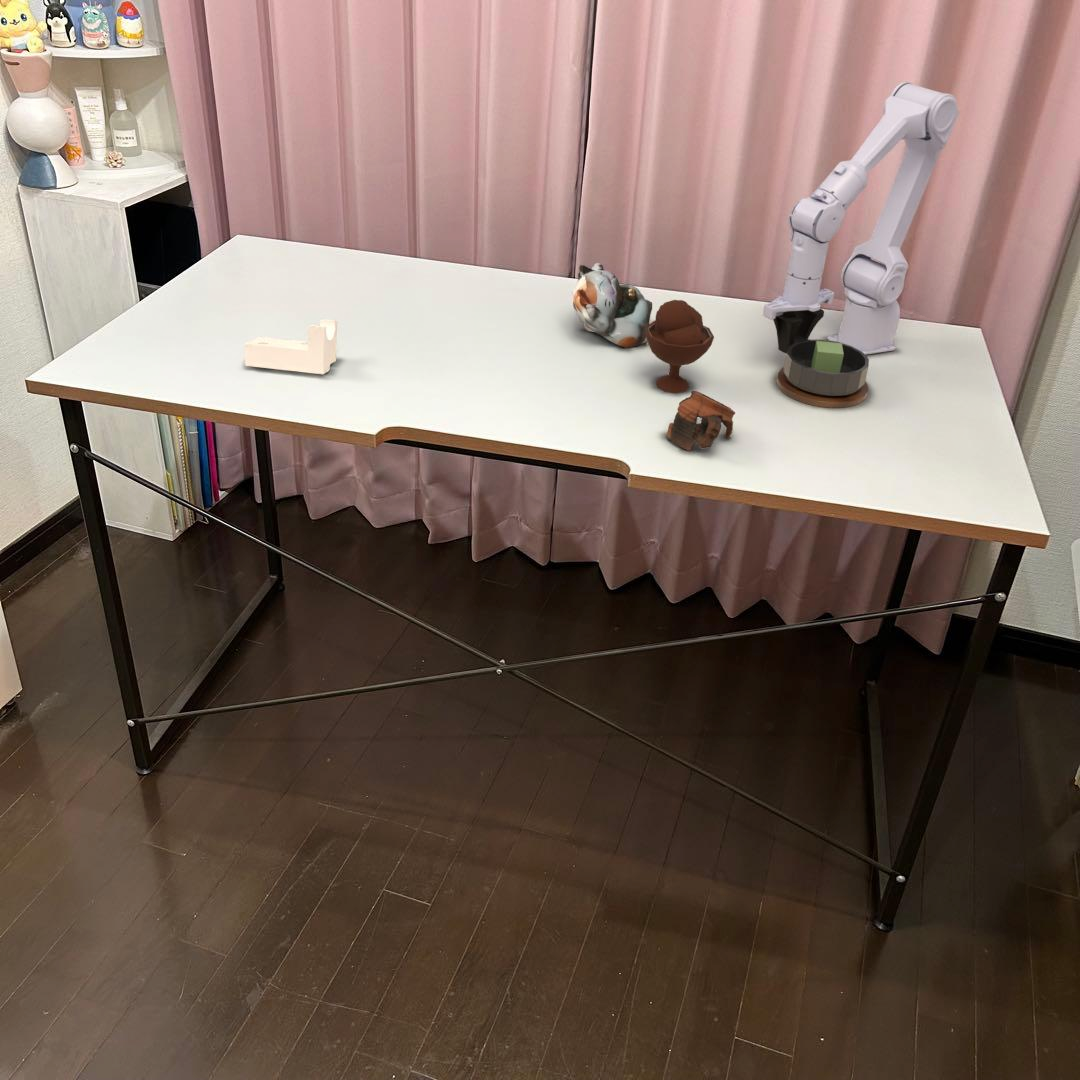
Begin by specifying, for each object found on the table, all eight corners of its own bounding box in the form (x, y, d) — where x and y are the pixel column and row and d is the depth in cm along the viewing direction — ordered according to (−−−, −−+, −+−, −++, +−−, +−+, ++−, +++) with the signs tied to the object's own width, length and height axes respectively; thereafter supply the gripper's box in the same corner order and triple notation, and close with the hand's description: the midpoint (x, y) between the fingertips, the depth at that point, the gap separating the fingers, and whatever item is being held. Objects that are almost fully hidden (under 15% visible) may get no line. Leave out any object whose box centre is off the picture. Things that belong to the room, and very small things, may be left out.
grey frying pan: (880, 389, 187) (886, 365, 185) (819, 405, 182) (824, 380, 179) (811, 349, 199) (816, 325, 197) (752, 362, 194) (757, 338, 191)
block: (810, 368, 191) (816, 340, 188) (835, 370, 190) (841, 343, 187) (812, 379, 187) (817, 351, 184) (837, 381, 187) (843, 353, 184)
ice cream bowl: (703, 404, 182) (716, 317, 174) (634, 394, 184) (644, 307, 175) (708, 376, 191) (721, 291, 183) (643, 367, 193) (652, 283, 184)
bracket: (336, 366, 189) (337, 320, 186) (323, 374, 182) (324, 327, 180) (260, 357, 190) (260, 312, 188) (244, 365, 183) (244, 318, 181)
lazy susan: (832, 362, 198) (833, 357, 198) (885, 400, 187) (887, 395, 186) (759, 373, 193) (760, 368, 192) (809, 413, 182) (810, 408, 181)
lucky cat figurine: (648, 353, 197) (619, 290, 188) (585, 366, 202) (554, 306, 193) (660, 299, 206) (633, 237, 197) (600, 313, 211) (570, 253, 202)
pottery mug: (654, 429, 176) (679, 381, 174) (704, 453, 179) (729, 406, 177) (679, 449, 164) (706, 398, 163) (732, 474, 168) (759, 424, 166)
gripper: (790, 289, 180) (776, 367, 188) (853, 273, 187) (837, 349, 195) (759, 275, 185) (747, 351, 193) (822, 259, 192) (807, 334, 200)
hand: (790, 349), depth 194 cm, fingers closed on grey frying pan, 3 cm apart
